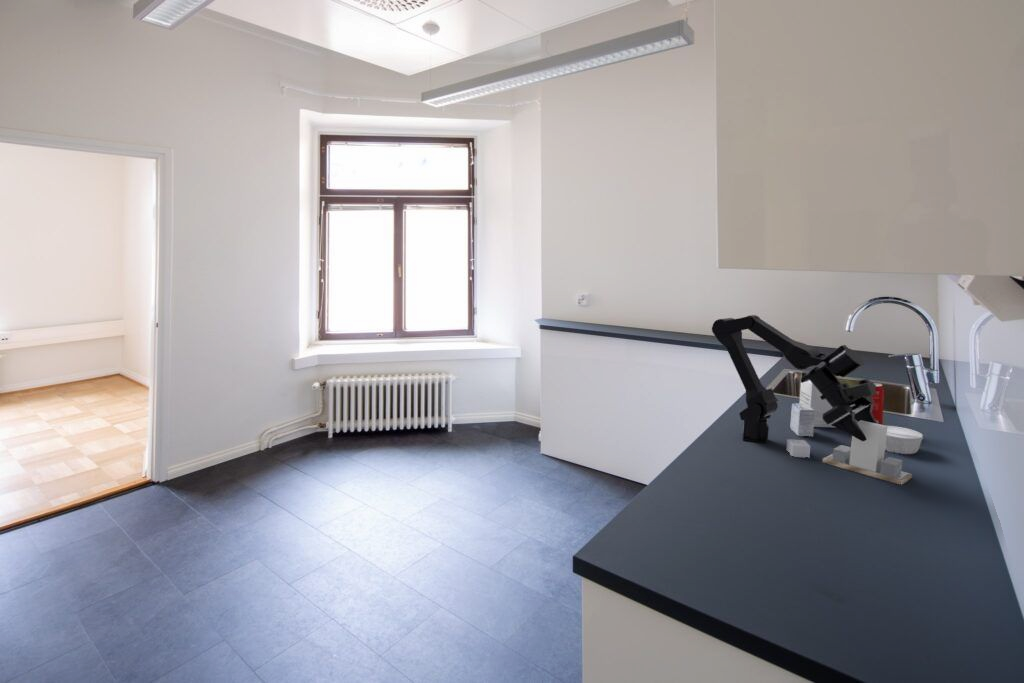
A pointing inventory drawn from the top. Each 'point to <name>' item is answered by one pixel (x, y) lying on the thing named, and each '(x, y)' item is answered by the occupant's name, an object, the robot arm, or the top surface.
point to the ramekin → (902, 440)
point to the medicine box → (802, 419)
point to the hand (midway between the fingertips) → (872, 436)
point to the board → (868, 472)
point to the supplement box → (815, 403)
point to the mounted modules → (887, 465)
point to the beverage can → (878, 403)
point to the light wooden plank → (898, 476)
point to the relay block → (798, 448)
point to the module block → (869, 446)
